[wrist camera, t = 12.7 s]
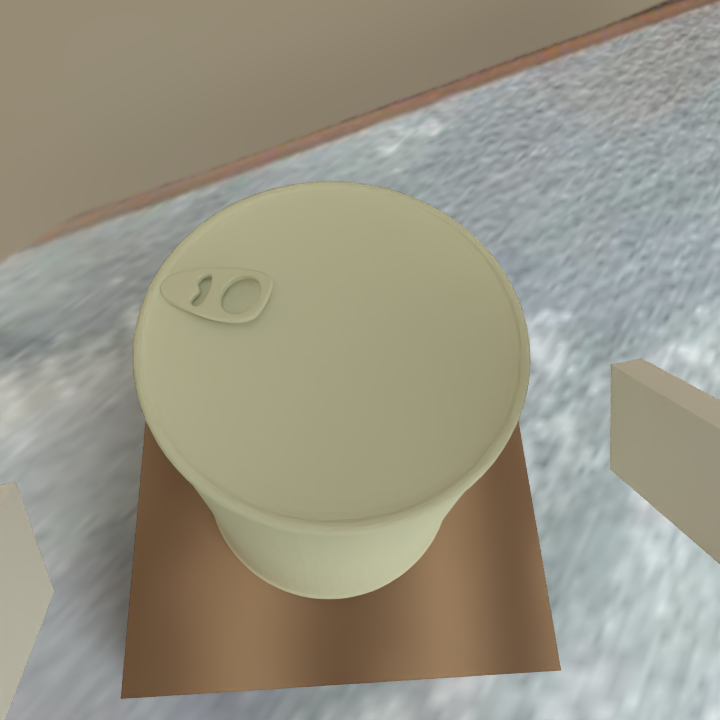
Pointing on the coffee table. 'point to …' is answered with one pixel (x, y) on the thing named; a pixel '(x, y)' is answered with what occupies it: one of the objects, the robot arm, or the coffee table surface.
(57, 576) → the coffee table surface
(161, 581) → the plinth
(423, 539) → the can
